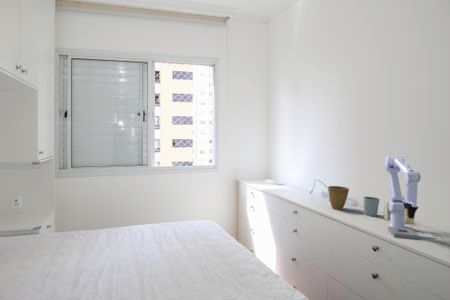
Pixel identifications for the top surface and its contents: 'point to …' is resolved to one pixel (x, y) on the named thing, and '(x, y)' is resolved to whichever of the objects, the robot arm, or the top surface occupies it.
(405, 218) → the oak block
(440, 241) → the top surface
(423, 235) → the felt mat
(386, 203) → the skincare box
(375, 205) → the teal tapered pot
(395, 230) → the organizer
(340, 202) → the plant pot
